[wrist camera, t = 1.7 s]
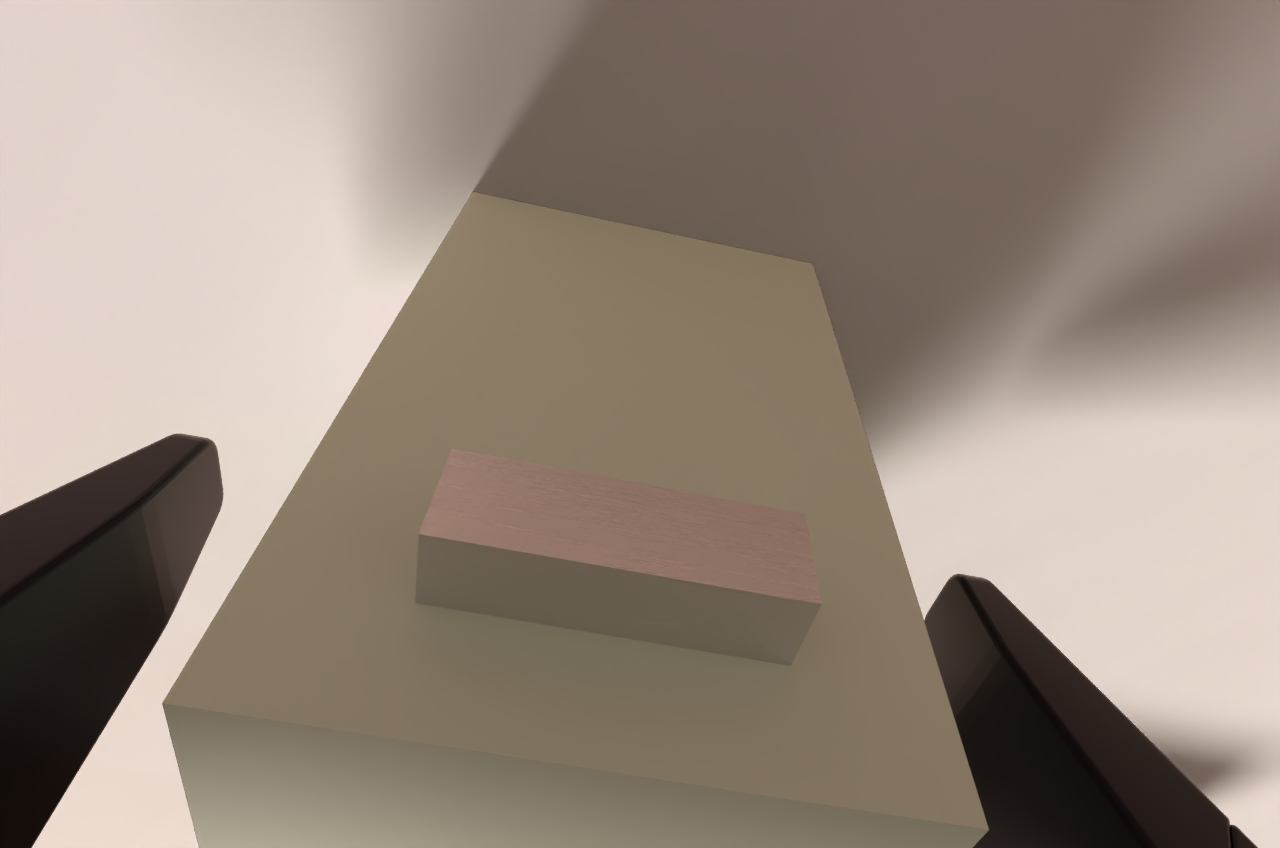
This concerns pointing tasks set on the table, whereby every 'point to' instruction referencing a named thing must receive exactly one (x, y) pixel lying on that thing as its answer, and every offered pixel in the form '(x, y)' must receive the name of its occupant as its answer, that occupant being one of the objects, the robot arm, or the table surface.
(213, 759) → the cabinet block
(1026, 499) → the table surface
